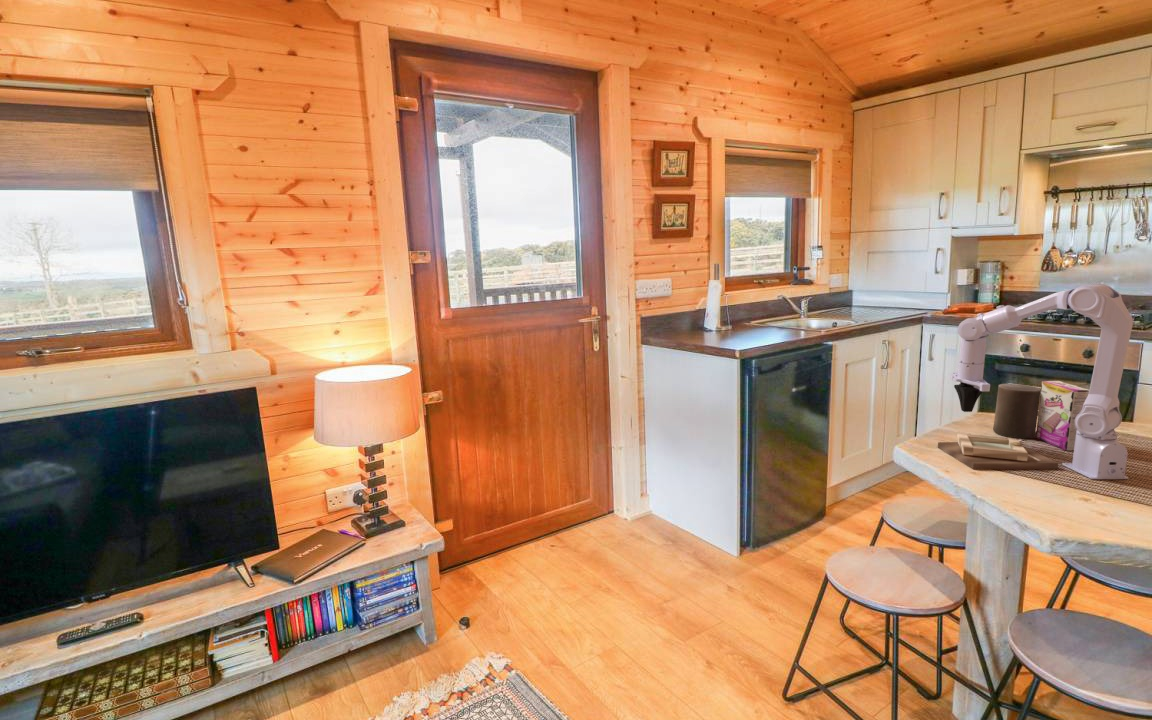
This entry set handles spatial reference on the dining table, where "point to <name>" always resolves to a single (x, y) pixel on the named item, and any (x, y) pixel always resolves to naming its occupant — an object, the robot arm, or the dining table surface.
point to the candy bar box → (1059, 413)
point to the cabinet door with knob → (991, 447)
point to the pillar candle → (1016, 411)
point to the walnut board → (998, 459)
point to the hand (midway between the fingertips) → (966, 411)
